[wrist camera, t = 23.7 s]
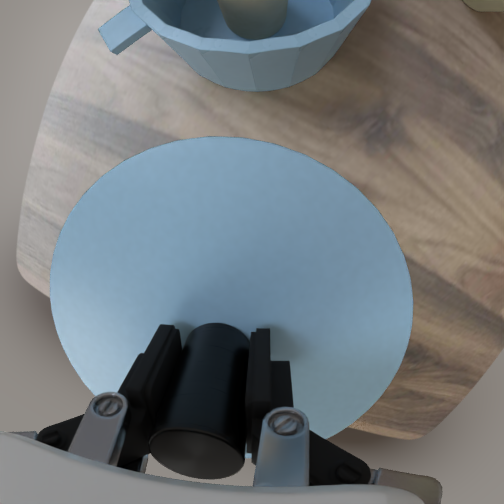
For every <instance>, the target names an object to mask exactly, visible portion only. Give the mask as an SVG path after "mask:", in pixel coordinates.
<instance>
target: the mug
mask: <svg viewBox="0 0 504 504" xmlns="http://www.w3.org/2000/svg"><path fill="white" fill-rule="evenodd" d="M463 2H464V3H465V4H467V5H468V6H469V7H470V8H472V9H474V10H476V11H479V12H504V0H463Z"/></svg>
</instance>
